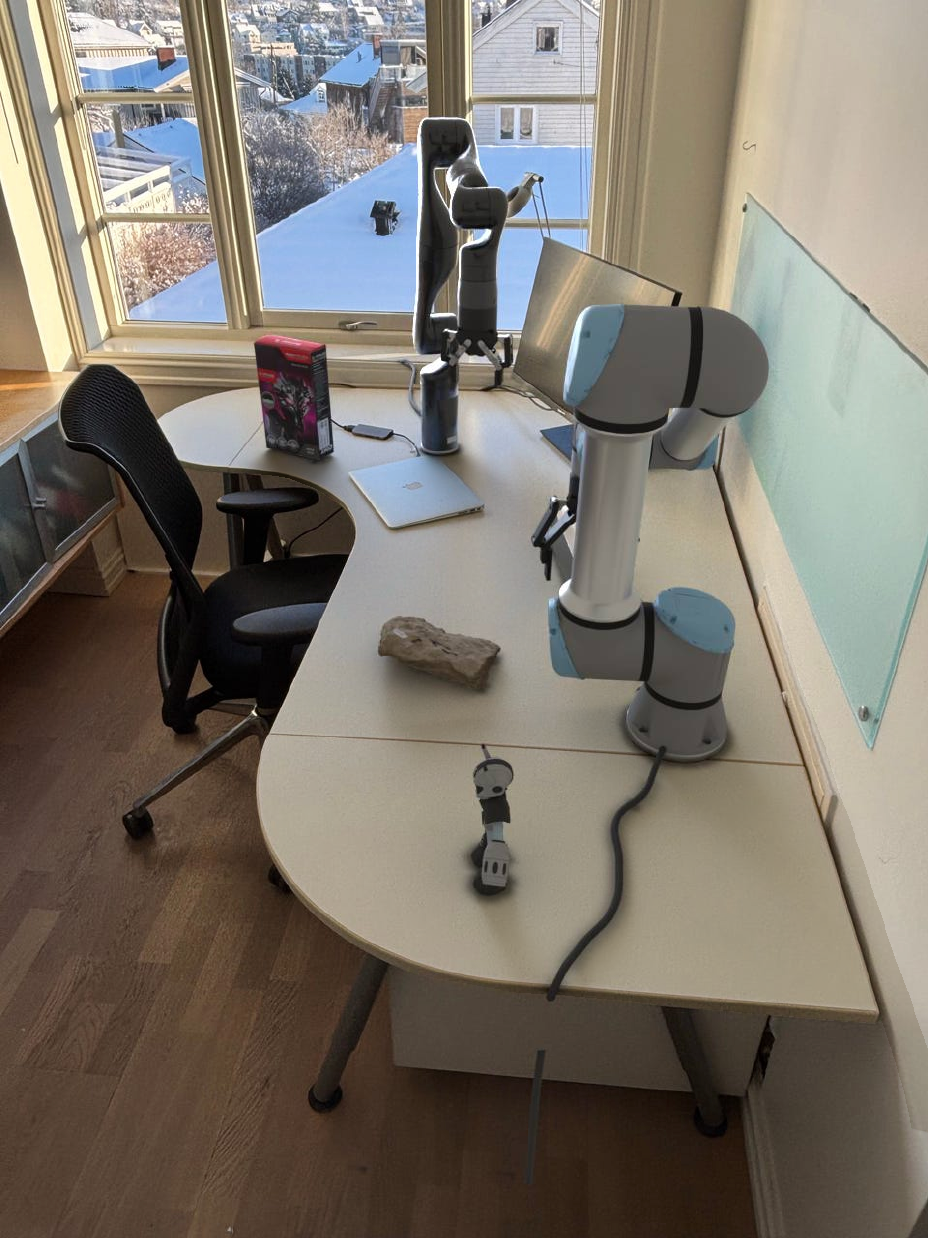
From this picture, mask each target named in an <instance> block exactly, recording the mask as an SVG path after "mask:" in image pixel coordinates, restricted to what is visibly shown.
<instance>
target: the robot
mask: <svg viewBox="0 0 928 1238" xmlns="http://www.w3.org/2000/svg"><path fill="white" fill-rule="evenodd" d="M480 748H481V750H482V753H483V755H484V759H483V760H481V761H480V762H479V763H478V764H477V765H476V766H474V767H475V768H474V769H473V772H472V778H473V784H474V786H475V797H476V798H477V799H478V802H479V805H480V806H481V809H482V810H481V823H482V826H483V827H484V833H483V834H482V837H481V838H480V841H479V842H478V844H477V845H476V847H475V848H474V849H473V850H472V852H471V854H470V857H471V859H472V862H473V864H474V865H475V866H477V867H478V868H479V869H478V870H477V871H476V874H475V876H474V880H473V883H472V886H473V887H474V888H475V890H476V891H477V892H478V893H479V894H482V895H487V896H490V895H496V894H497V893H500V892H502V891H504V890H506V887H507V883H508V877H509V869H510V864H511V863H510V857H511V855H510V850H509V846H508V843H507V842H506V841H505V839H504V823H506V824H511V820H512V819H511V807H510V804H509V801H508V799H507V792H506V791H508V787H509V786H510V784H512V782H513V781H514V776H515V775H514V769H513V766H512V765H511V764H510V762H508V761H506V760H505V759H503V758H502V757H499V756H491V753H490V752H489V750H488V748H487V746H486V745H485V743H481V745H480Z"/></svg>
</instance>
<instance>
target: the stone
mask: <svg viewBox="0 0 928 1238" xmlns="http://www.w3.org/2000/svg"><path fill="white" fill-rule="evenodd" d="M381 626H382V627H381V630H380V639H379V645H378V648H377V653H378V656H380V657H391V658H394V659H395V660H397V662H398V663H399V664H400V665H403V666H407V667H408V666H409V667H411V668H412V669H415V670H419V671H425V672H426V673H429V674H431V675H435V676H436V677H439V678H441V679H444V680H446V681H448V682H450V683H456V684H463V685H466V686H467V687H468V688H470V689H472V690H475V691H480V690H482V689H483V688H484V686H485V685H486V682H487V681H488V678H489V677H490V676H489V675H490V674H489V672H490V670H491V668H492V666H493V664H494V662H495V660H496V658H497V656H498V653H500V651H501V650H502V648H501V647H500V646H499V645H498V644H496V643H495V642H492V641H491V640H490V639H485V638H481V637H473V636H466V635H463V634H461V633H452V632H446V631H445V629H443V628H442V627H436V626H434V624H433V623H431V622H429V621H427V620H426V619H425V618H424V617H416V616H402V615H398V616H395V617H392V618H391V619H389V620H387V621H385V622H384V623H383V625H381Z"/></svg>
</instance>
